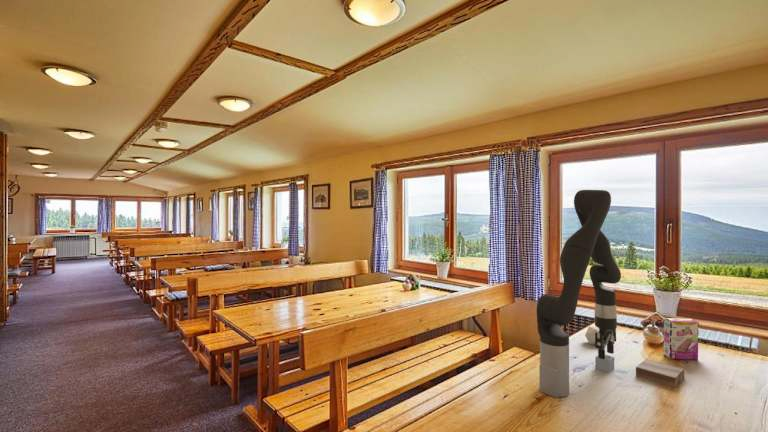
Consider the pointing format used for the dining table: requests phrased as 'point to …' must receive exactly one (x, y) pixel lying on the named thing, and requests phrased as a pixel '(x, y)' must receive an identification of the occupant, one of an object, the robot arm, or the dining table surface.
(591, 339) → the die
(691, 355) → the candy bar box
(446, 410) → the dining table surface
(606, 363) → the slate cube
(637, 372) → the walnut block
